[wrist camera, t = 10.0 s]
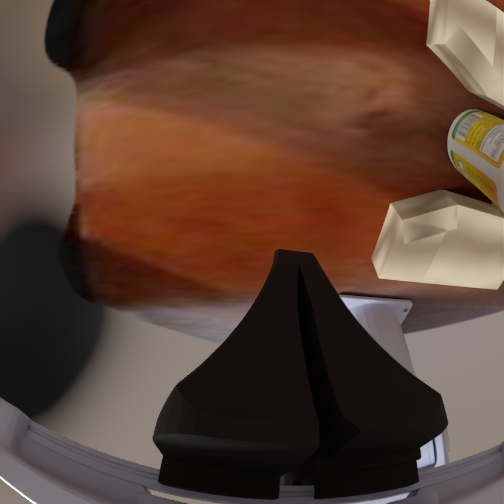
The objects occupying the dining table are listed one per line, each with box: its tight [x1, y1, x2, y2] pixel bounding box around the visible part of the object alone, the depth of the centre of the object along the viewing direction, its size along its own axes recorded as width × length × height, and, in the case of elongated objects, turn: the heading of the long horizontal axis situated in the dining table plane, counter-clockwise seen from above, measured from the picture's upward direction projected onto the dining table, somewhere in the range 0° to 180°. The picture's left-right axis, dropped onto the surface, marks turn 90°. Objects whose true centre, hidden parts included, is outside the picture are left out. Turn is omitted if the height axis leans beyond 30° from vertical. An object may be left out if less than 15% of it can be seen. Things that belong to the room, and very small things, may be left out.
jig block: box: [371, 0, 504, 290], centre depth 15 cm, size 22×14×3 cm, turn 175°
